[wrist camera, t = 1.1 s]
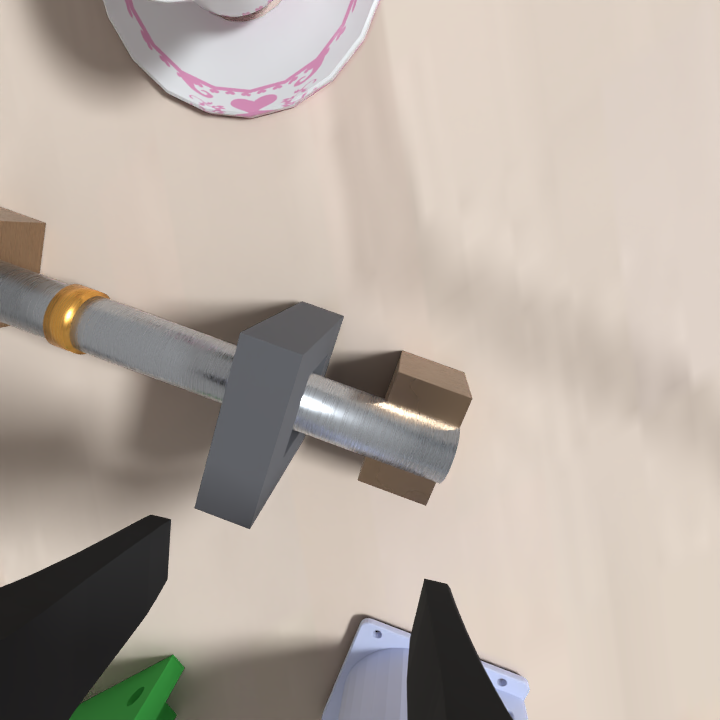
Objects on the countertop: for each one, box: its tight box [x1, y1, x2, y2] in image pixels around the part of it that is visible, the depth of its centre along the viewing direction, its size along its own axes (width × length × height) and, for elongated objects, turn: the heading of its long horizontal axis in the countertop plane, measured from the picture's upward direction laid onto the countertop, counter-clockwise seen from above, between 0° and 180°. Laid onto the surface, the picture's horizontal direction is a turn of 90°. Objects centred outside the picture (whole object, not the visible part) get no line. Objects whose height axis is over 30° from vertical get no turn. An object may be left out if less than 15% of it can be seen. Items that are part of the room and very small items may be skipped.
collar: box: [195, 301, 344, 529], centre depth 18 cm, size 2×6×7 cm, turn 162°
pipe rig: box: [0, 207, 472, 505], centre depth 20 cm, size 24×5×5 cm, turn 72°
